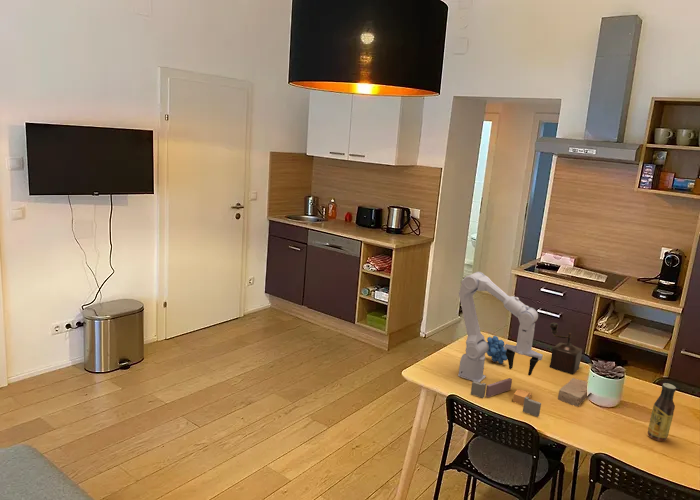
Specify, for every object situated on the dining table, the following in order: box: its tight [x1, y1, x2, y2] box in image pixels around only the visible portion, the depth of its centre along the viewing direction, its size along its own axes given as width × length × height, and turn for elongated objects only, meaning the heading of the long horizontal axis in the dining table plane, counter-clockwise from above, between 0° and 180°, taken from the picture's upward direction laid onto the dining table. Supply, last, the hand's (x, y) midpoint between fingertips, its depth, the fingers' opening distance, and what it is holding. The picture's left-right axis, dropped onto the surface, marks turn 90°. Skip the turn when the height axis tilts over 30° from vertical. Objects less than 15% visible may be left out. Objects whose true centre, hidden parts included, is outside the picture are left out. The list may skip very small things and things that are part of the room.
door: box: [485, 377, 513, 398], centre depth 214 cm, size 14×2×4 cm, turn 126°
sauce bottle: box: [647, 382, 677, 442], centre depth 187 cm, size 6×6×20 cm
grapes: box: [486, 335, 508, 365], centre depth 242 cm, size 12×7×12 cm, turn 44°
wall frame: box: [470, 381, 542, 418], centre depth 205 cm, size 26×2×6 cm, turn 56°
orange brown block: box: [512, 388, 533, 406], centre depth 211 cm, size 4×9×4 cm, turn 146°
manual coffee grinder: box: [549, 322, 583, 375], centre depth 243 cm, size 16×11×18 cm
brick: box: [557, 377, 589, 407], centre depth 216 cm, size 17×8×5 cm, turn 139°
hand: (520, 371), depth 215 cm, fingers open, 7 cm apart
